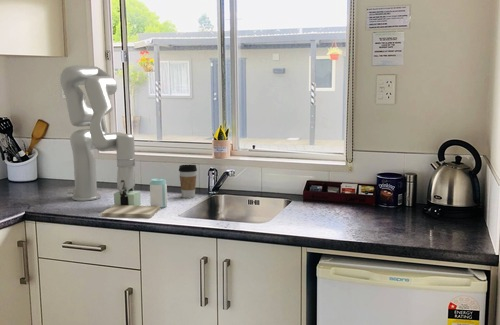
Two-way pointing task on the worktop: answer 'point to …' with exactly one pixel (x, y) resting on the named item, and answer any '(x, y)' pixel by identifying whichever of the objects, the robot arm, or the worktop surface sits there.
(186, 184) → the coffee cup
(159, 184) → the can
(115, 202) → the sage brick
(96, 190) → the robot arm
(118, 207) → the birch board
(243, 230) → the worktop surface
